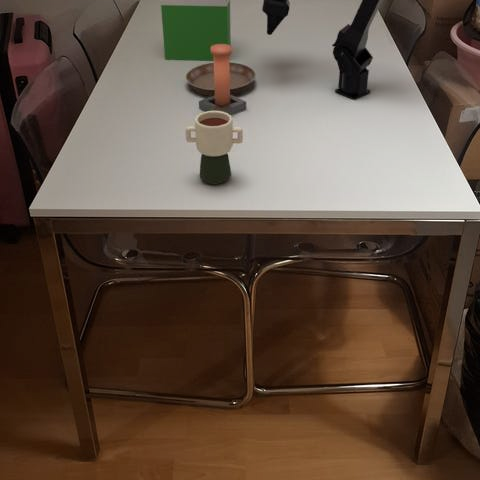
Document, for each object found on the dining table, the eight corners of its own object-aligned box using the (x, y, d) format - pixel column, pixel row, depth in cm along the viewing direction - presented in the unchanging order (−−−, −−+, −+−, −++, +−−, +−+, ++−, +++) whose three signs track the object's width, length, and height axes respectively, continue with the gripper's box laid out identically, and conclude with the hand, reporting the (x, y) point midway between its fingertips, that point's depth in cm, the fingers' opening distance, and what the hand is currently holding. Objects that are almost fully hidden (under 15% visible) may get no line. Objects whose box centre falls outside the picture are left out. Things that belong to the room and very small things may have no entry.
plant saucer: (194, 104, 157) (193, 92, 155) (180, 76, 171) (179, 65, 169) (264, 95, 160) (264, 84, 159) (244, 69, 174) (244, 58, 172)
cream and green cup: (243, 169, 131) (243, 110, 123) (241, 188, 125) (241, 127, 118) (190, 168, 132) (187, 109, 124) (186, 186, 126) (182, 126, 118)
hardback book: (165, 59, 180) (158, -31, 166) (169, 50, 186) (163, -38, 172) (228, 61, 179) (226, -30, 164) (230, 51, 185) (229, -37, 170)
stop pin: (236, 109, 154) (236, 47, 145) (221, 115, 151) (220, 53, 142) (223, 103, 157) (222, 42, 148) (208, 109, 154) (206, 47, 145)
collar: (246, 109, 154) (246, 101, 153) (221, 119, 150) (220, 111, 148) (224, 99, 159) (224, 91, 157) (199, 108, 154) (198, 101, 153)
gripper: (252, -56, 159) (241, 5, 169) (247, -29, 145) (235, 36, 156) (296, -47, 160) (282, 14, 170) (296, -19, 146) (280, 45, 156)
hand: (269, 26), depth 163 cm, fingers open, 9 cm apart
